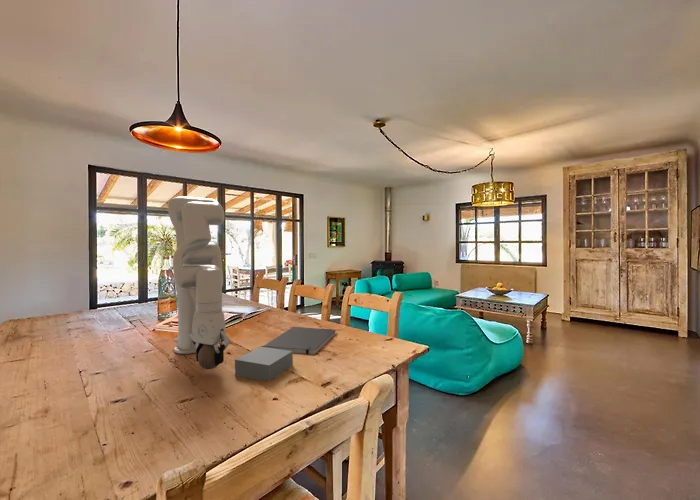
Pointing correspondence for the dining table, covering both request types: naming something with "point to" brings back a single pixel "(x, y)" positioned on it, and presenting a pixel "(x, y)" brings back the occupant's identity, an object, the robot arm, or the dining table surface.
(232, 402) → the dining table surface
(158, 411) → the dining table surface
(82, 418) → the dining table surface
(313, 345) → the notebook
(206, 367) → the vase
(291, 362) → the slate block
